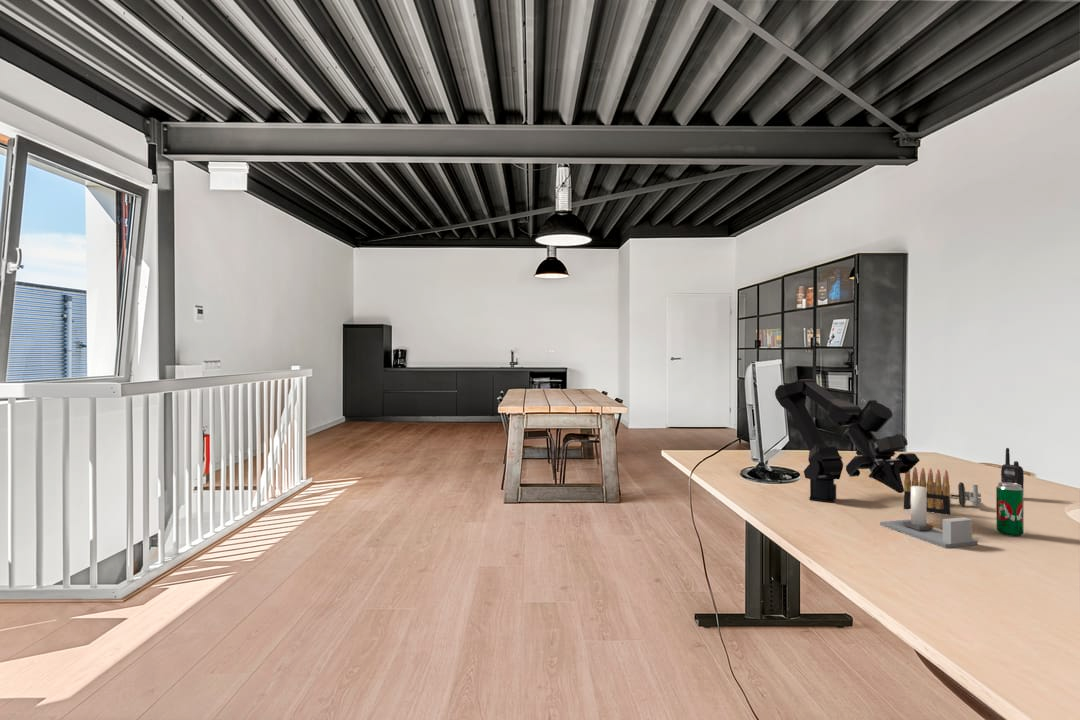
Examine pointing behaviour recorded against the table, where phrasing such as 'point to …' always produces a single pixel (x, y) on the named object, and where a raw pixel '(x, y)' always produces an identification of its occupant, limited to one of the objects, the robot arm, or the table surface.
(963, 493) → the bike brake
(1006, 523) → the soda can
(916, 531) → the gauge board
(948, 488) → the ammunition clip
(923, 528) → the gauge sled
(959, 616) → the table surface
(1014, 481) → the two-way radio
